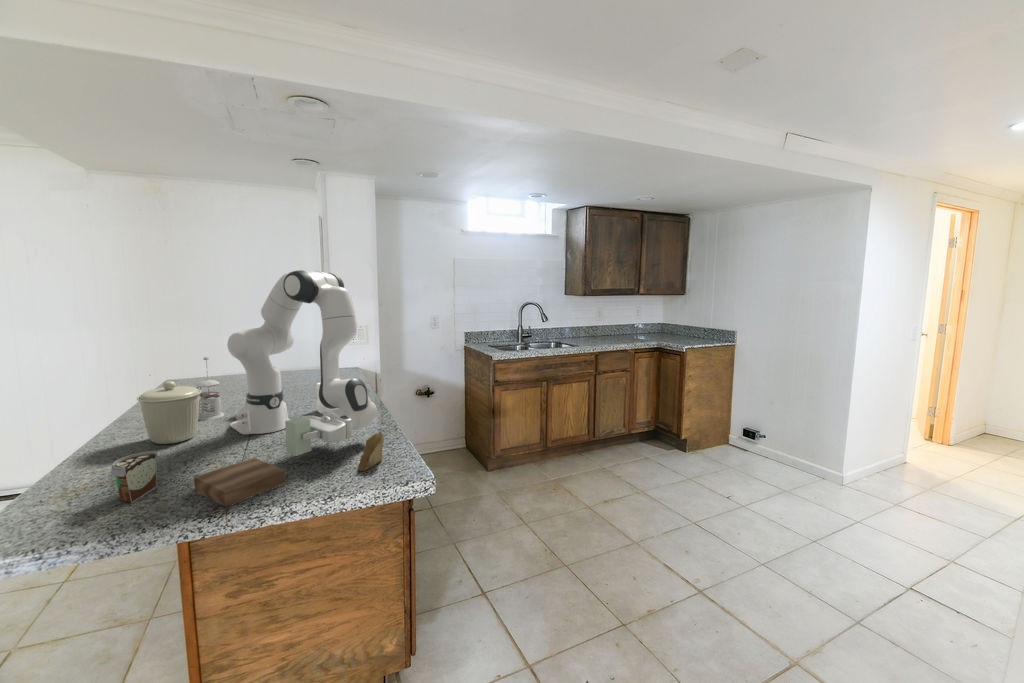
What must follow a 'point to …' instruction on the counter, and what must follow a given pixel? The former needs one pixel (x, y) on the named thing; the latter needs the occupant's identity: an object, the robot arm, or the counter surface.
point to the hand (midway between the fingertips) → (295, 435)
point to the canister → (170, 412)
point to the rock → (371, 452)
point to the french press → (209, 400)
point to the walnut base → (239, 481)
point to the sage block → (297, 436)
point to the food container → (135, 475)
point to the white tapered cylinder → (320, 406)
